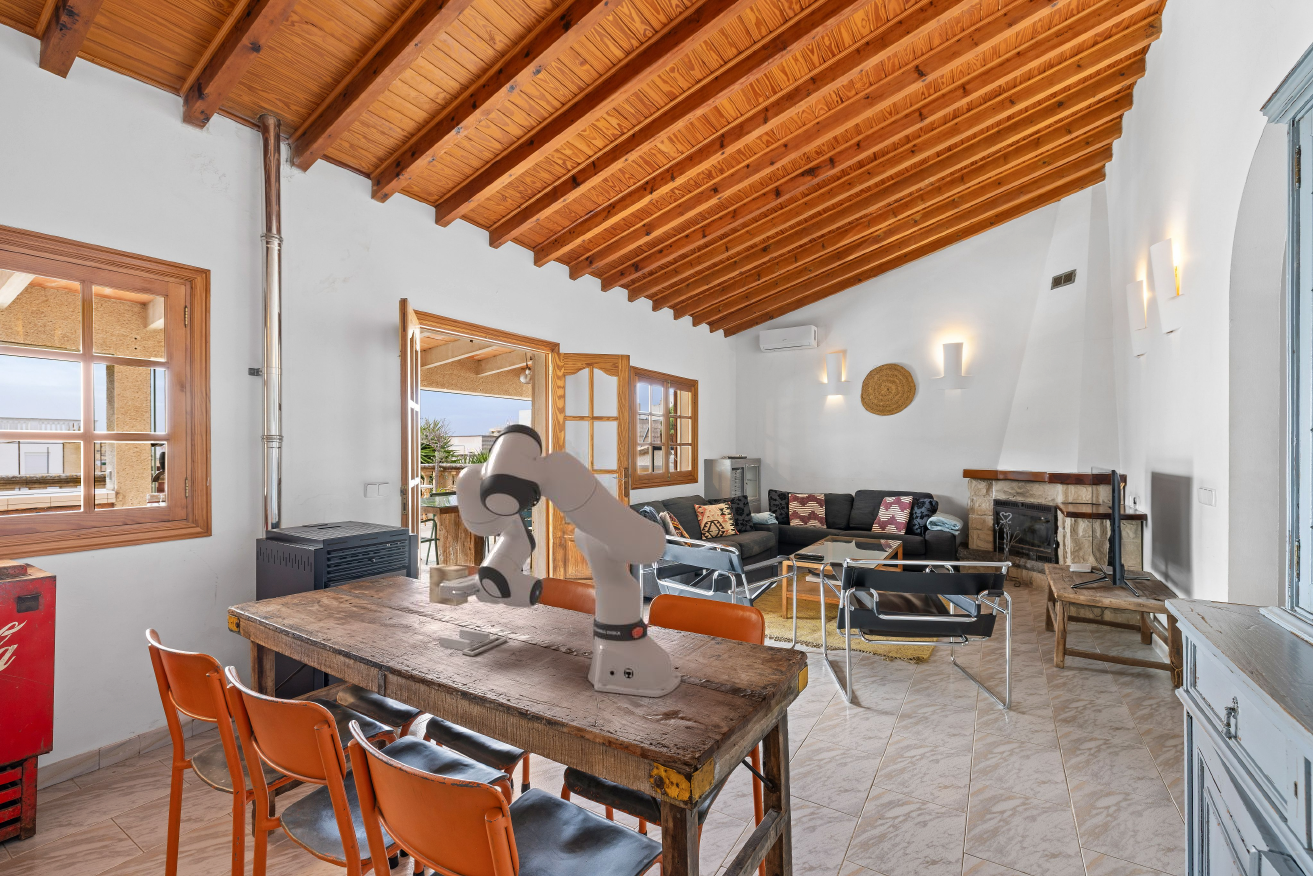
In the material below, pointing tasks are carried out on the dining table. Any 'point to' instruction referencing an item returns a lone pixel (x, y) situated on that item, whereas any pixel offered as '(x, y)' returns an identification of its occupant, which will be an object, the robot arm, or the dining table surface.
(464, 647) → the white flat piece
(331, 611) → the dining table surface
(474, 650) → the trap slot
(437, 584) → the birch block
